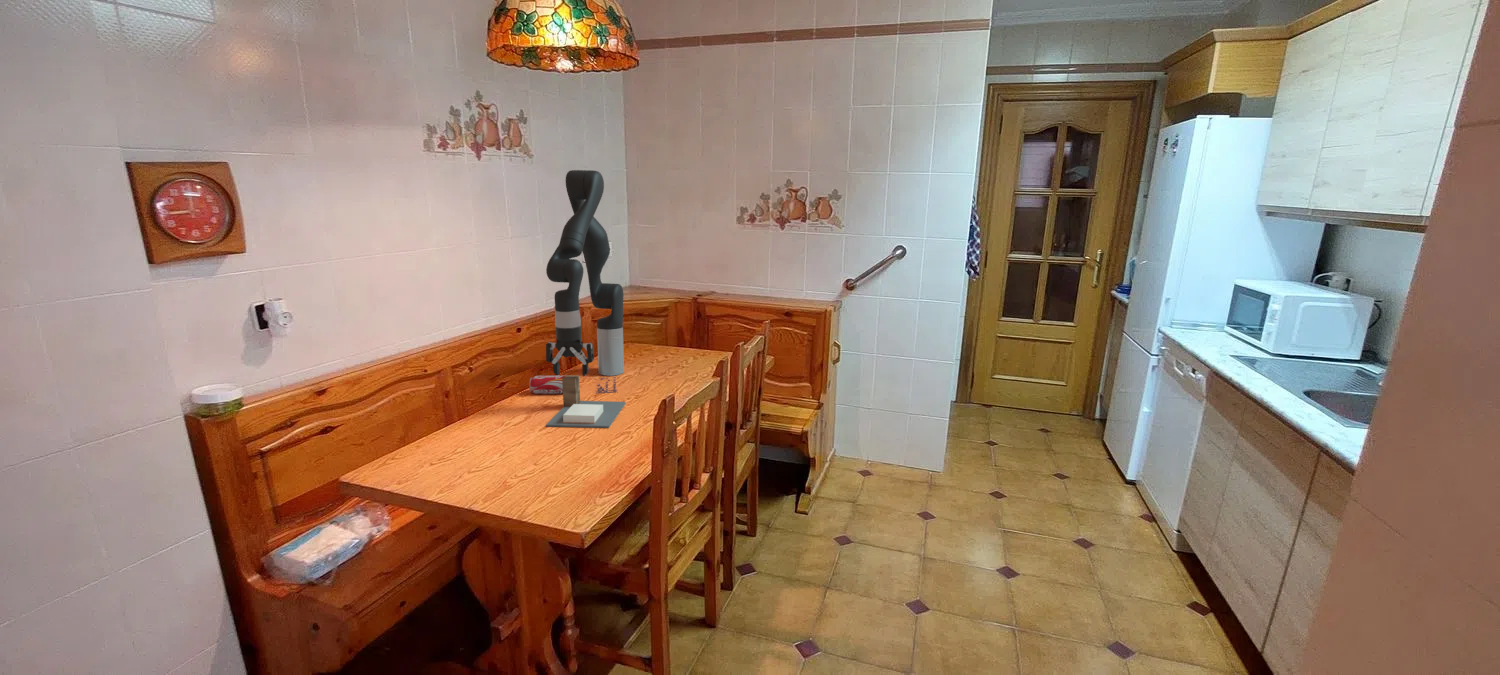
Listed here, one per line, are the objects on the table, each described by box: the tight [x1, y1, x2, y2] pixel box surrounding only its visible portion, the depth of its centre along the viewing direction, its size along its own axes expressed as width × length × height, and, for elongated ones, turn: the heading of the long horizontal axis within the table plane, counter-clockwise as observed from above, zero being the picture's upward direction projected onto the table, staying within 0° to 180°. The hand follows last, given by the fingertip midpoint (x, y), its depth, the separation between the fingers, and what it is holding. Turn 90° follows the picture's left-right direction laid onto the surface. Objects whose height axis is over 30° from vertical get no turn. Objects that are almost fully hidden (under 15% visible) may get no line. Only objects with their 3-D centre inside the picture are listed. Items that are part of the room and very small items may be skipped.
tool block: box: [562, 374, 581, 407], centre depth 189 cm, size 4×4×9 cm
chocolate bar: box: [595, 375, 619, 395], centre depth 212 cm, size 7×19×2 cm, turn 12°
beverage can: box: [528, 375, 566, 395], centre depth 202 cm, size 6×6×12 cm
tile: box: [563, 404, 603, 424], centre depth 179 cm, size 2×9×10 cm
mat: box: [545, 400, 626, 429], centre depth 183 cm, size 22×18×1 cm
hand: (571, 375), depth 189 cm, fingers open, 8 cm apart
